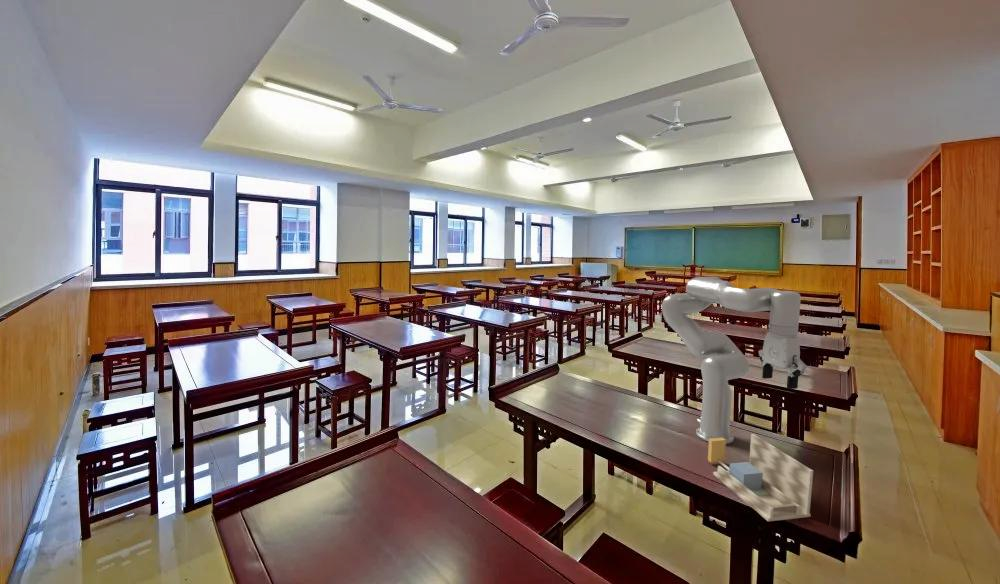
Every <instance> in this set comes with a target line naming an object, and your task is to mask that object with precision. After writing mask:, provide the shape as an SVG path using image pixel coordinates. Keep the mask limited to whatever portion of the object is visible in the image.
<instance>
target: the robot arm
mask: <svg viewBox="0 0 1000 584" xmlns="http://www.w3.org/2000/svg"><path fill="white" fill-rule="evenodd" d="M685 291H686V292H683V293H682V292H681V293H673V294H670V295H668V296H665V298H663V300H662V303H661V313H662V315H663V316H662V317H663V319H664V320H665V322H666V323H667V324H668V325H669V327H670V328H671V329H672V330H673V331H674V332H675V333H676V334H677V335H678V337H679V338H680V339H681V341H682V342H683V344H684V345H685V346H686V347H687V349H688V350H689V351H690V353H691V354H692V355H693V356H695V357H696V358H704V359H703V360H702V362H701V365H700V370H701V371H700V372H701V377H702V401H701V416H700V418H697V419H696V421H697V423H698V424H699V427H698V428H696V429H695V435H696V436H697V437H698V438H700V439H701V440H703V441H706V442H708V443H709V439H712V438H724V439H725V440H726V445H729V444H731V443H733V442H734V439H735V438H734V435H733V434H732V433H731V432H730V428H731V427H730V426H731V409H732V389H731V386H730V384H729V380H734V379H735V380H736V379H739V378H743V377H745V376H747V374H749V371H750V363H749V361H748V359H747V357H746V356H745V354H743V352H742V351H741V350H740V349H739V348H738V346H736V344H735V342H733V341H732V340H731V339H730V337H728V336H727V335H726V334H725V333H723V332H721V331H705V330H704V329H702V328H701V326H700V325H699V324H698V323H697V321H695V320H694V319H693V318H692V317H689V316H688V314H697V313H700V312H703V311H704V310H705V309H707V308H708V307H709V306H711V305H712V304H714V303H715V304H718V305H720V306H722V307H724V308H726V309H728V310H729V309H730V310H734V311H739V312H743V313H753V312H754V313H756V312H766V311H767V312H768V311H770V312H769V323H768V332H766V334H765V337H764V340H763V345H762V349H760V350H758V356H759V360H760V362H761V363H760V365H761V366H762V374H761V375H762V377H761V378H762V379H765V380H766V379H772V378H773V371H774V367H776V368H778V369H779V368H780V369H782V370H786V371H787V373H788V375H787V379H786V389H788V390H794V389H795V390H797V389H798V386H799V385H798V384H799V378H800V377H801V376H802V375H803V374H804V373H805V371H806V369H807V367H808V366H807V365H806V363H804V361H803V360H802V359H801V358H800V355H801V350H800V348H801V347H800V337H799V336H798V335H799V323H800V312H801V300H802V299H801V294H800V293H799V292H797V291H791V290H780V289H776V288H772V287H759V288H758V287H757V288H741V287H734V286H733V284H732V283H731V282H730V281H728V280H723V279H721V278H720V277H717V276H698V277H697V276H696V277H692V278H691V279H689V280H688V281H687V283H686V286H685Z"/></svg>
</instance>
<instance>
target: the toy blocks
mask: <svg viewBox="0 0 1000 584" xmlns="http://www.w3.org/2000/svg"><path fill="white" fill-rule="evenodd" d="M726 446H727V444H726V440H725V439H724V438H712V439H709V442H708V448H707V461H708V462H709V463H719V464H720V466H721V465H722V466H721V467H723V468H724V469H725V470H726V471H727V470H729V473H730V474H731V475H732V476H733V477H735V478H736V479H737V480H738V481H740V482H741V483H742V484H743V485H745V486H746V487H747V488H748V489H750V490H754V489H762V476H763V473H762V472H761V471H760V470H758V469H757V468H755V467H754V466H753V465H751V464H750V463H749V462H748V461H744V462H743V461H742V462H732V463H731V462H730V463H729V466H728V465H727V464H725V463H724V462H725V461H726V448H727V447H726Z"/></svg>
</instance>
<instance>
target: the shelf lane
mask: <svg viewBox="0 0 1000 584" xmlns="http://www.w3.org/2000/svg"><path fill="white" fill-rule="evenodd" d="M749 444H750V445H749V457H748V458H749V462H748V463H750V464H751V465H753V466H754V467H755V468H757V469H758V470H760V471H761V472H762V473H763V476H762V489H754V490H750V489H748V488H747V487H746V486H745V485H743V484H742V483H741V482H740V481H738V480H737V479H736V478H735V477H733V476H732V475H731V474H730V473H729V470H727V469H726V468H725V467H723V466H721V465H717V469H716V470H717V471H713V472H712V475H713V476H715V477H716V478H717V479H718V480H719V481H720V482H721V483H723V484H724V486H726V487H727V488H728V489H729V490H731V491H732V492H733V493H734V494H735V495H737V497H739V498H740V499H741V500H742V501H744V503H745V504H747V505H749V507H751V508H752V510H754V511H756V513H758V515H760V516H761V517H762V518H763V519H764V520H766V521H767V522H775V521H784V520H793V519H800V518H801V519H802V518H809V517H810V518H811V517H812V516H811V515H812V514H811V513H810V512H811V499H812V490H813V476H814V470H813V469H811V468H809V467H808V466H806V465H804V464H803V463H801V462H800V461H798V460H797V459H795V458H794V457H792V456H790V455H789V454H787V453H786V452H784V451H782V450H780V449H779V448H778V447H776V446H774V445H772V444H770V443H769V442H768V441H766V440H764V439H762V438H761V437H759V436H758V435H756V434H754V433H751V434H750V443H749Z"/></svg>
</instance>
